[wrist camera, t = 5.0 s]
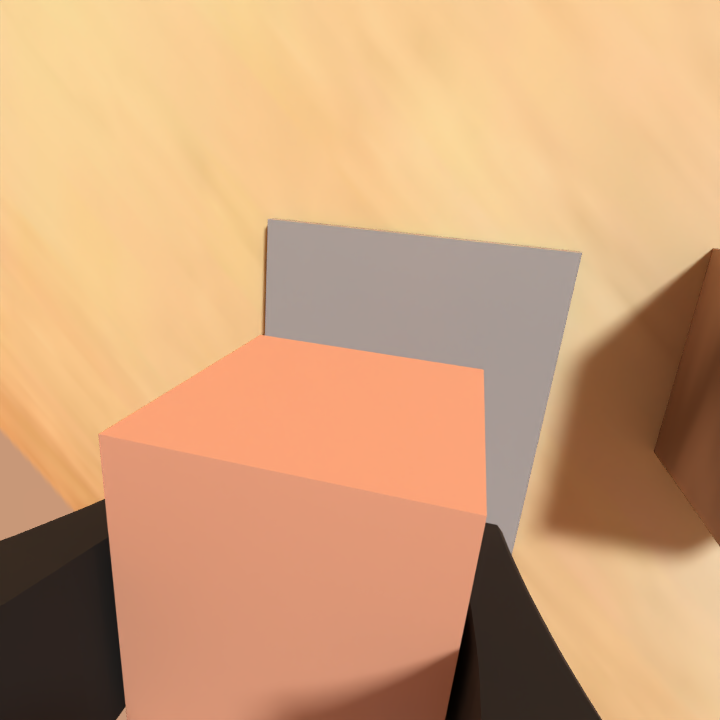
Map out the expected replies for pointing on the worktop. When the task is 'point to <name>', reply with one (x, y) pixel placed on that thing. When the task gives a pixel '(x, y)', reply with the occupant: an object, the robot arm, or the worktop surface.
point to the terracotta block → (297, 535)
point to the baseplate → (435, 321)
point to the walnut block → (697, 409)
